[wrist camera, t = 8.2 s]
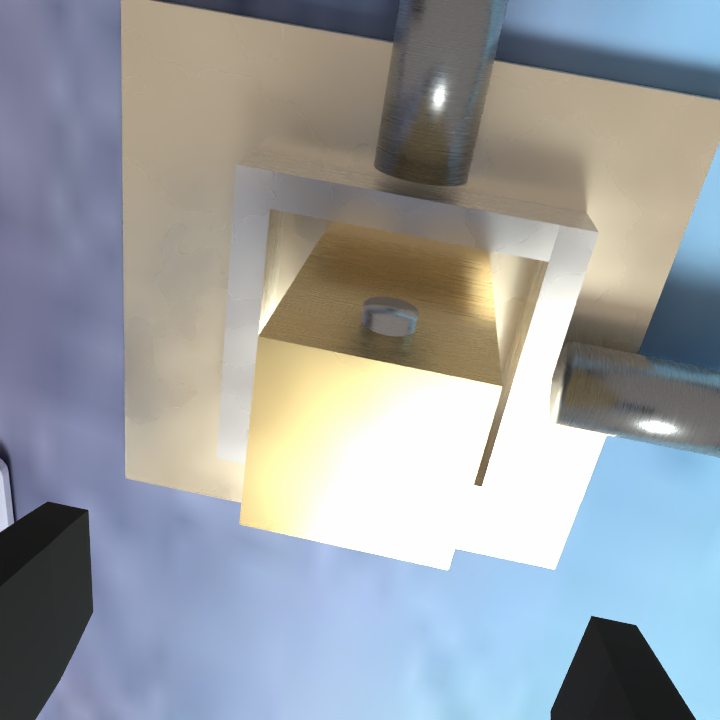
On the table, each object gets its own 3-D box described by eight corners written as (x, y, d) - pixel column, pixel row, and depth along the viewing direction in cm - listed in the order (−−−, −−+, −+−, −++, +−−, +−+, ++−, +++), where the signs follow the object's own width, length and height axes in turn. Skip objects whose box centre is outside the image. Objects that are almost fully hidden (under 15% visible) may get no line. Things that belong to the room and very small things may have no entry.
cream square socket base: (134, 466, 21) (93, 521, 19) (132, -130, 14) (68, -156, 12) (652, 576, 21) (676, 647, 18) (927, 3, 13) (1022, 2, 11)
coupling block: (303, 385, 18) (238, 536, 13) (326, 218, 16) (259, 319, 11) (450, 415, 18) (444, 581, 13) (493, 251, 16) (507, 370, 11)
